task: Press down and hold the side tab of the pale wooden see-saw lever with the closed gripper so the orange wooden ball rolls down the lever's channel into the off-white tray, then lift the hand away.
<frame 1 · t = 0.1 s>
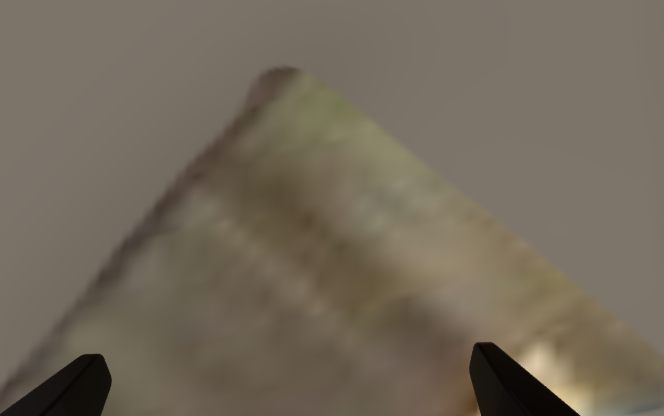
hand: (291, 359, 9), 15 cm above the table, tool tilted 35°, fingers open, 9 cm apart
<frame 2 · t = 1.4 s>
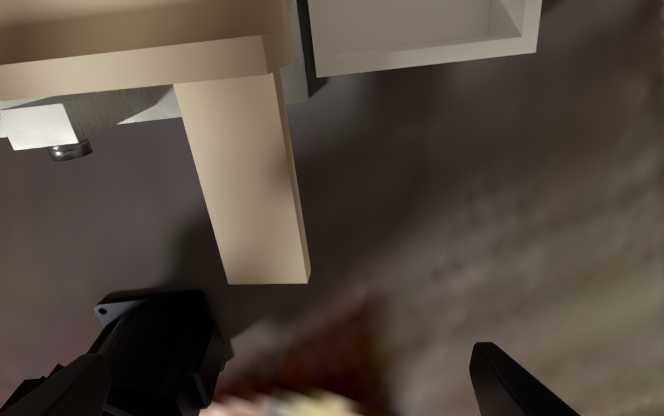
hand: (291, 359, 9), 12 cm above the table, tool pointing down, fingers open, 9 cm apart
lever: (41, 101, 12), point 6 cm above the table, hinge at -9.0°, touching ball
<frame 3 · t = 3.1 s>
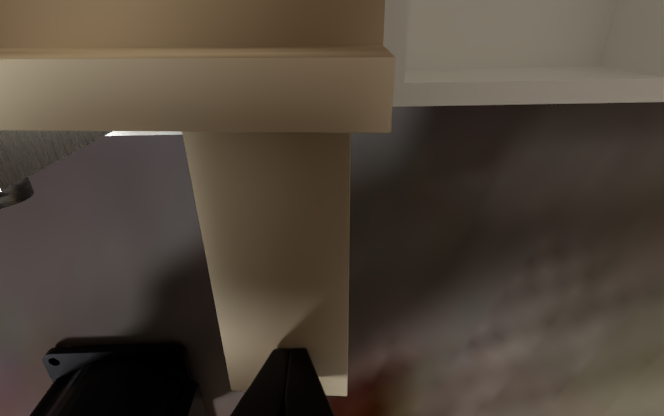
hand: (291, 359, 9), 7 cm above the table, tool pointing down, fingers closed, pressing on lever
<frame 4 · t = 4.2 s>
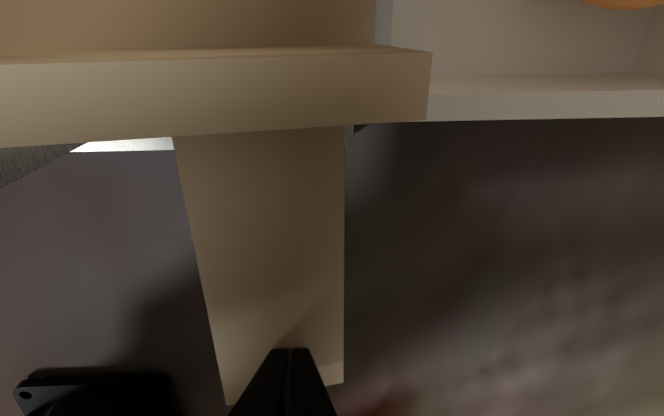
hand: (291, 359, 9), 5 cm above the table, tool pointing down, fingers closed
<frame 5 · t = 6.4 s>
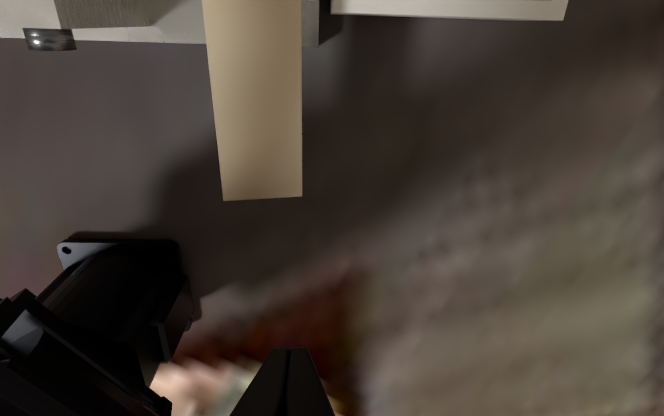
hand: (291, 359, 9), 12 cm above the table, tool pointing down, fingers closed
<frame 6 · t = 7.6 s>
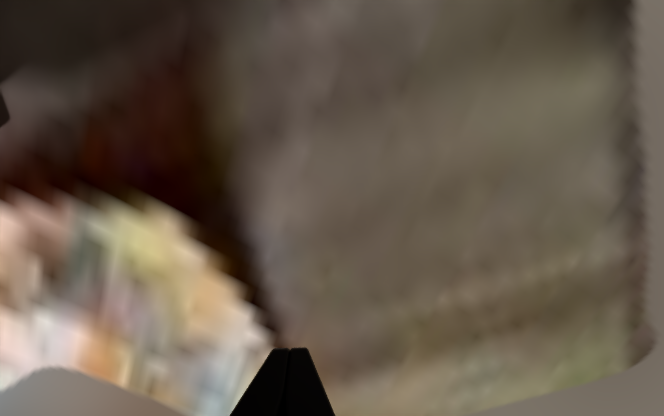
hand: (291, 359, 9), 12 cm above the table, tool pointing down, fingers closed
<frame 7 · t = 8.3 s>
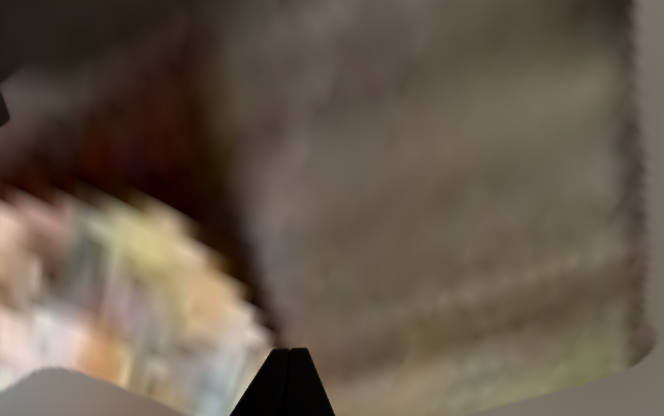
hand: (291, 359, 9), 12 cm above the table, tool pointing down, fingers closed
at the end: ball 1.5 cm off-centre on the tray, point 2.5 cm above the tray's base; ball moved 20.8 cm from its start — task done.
